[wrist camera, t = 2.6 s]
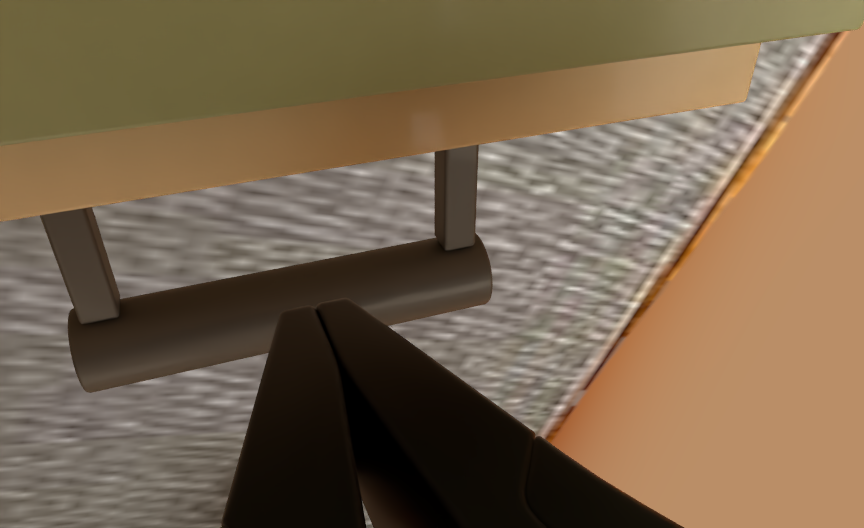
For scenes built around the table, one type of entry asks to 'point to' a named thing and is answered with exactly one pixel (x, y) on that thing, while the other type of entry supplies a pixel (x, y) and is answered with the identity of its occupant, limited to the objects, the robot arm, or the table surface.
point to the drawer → (305, 152)
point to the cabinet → (334, 50)
